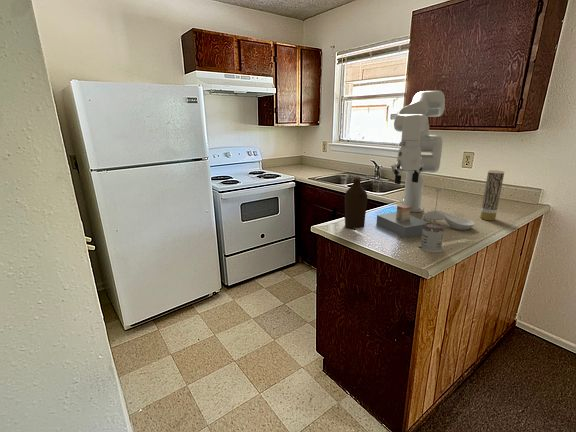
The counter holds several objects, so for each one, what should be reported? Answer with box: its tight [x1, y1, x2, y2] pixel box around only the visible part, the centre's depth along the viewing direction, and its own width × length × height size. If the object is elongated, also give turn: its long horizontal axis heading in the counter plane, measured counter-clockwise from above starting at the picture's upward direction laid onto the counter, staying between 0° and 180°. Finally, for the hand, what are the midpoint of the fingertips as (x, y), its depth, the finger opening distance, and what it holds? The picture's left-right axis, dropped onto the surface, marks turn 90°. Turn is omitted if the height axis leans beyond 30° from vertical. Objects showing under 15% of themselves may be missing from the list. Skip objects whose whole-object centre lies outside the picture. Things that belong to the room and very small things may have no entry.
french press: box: [418, 187, 446, 253], centre depth 125 cm, size 10×12×25 cm
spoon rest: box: [420, 210, 475, 231], centre depth 152 cm, size 24×12×7 cm, turn 62°
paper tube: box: [480, 169, 505, 221], centre depth 159 cm, size 7×7×25 cm
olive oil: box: [344, 175, 368, 231], centre depth 150 cm, size 11×11×25 cm
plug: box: [396, 204, 411, 221], centre depth 145 cm, size 4×4×11 cm
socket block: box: [376, 211, 430, 239], centre depth 146 cm, size 20×14×6 cm
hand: (406, 183), depth 140 cm, fingers open, 9 cm apart
